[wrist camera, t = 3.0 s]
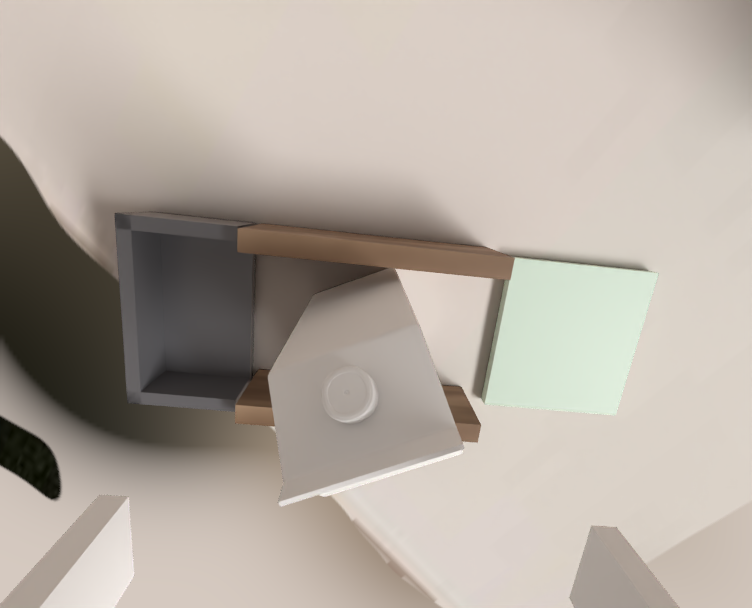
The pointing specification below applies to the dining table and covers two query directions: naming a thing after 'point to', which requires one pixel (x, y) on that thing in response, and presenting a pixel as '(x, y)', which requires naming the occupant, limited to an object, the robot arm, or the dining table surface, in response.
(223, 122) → the dining table surface
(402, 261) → the channel
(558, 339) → the pad
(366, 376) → the milk carton
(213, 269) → the bin
